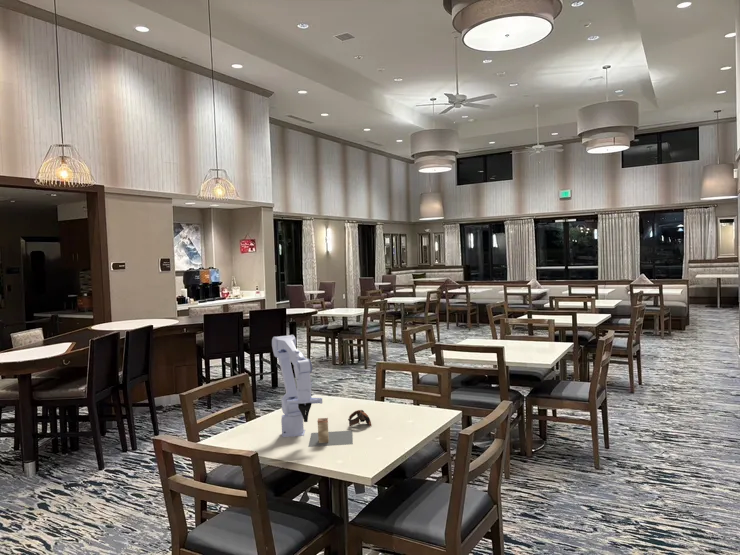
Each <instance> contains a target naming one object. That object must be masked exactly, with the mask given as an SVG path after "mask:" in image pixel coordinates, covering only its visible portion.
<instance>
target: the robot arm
mask: <svg viewBox="0 0 740 555" xmlns="http://www.w3.org/2000/svg"><path fill="white" fill-rule="evenodd" d="M296 346H297V339H296V337H295V335H294V334H290V335H280V336H273V337H272V339H271V347H272V352H273V356H274V357H275V358H276V359H277V358H278V363H279V366H280V371H281V375H282V376H281V377H282V381H283V385H284V389H285V394H284V395H283V396H282V397H281V400H280V402H281V410H282V413H283V414H281V422H280V423H281V437H282V438H286V437H287V438H288V437H290V438H291V437H302V436H303V437H304V436H305V432H306V429H305V428H304V423H308V422H309V420H308V419H309V414H310V410H311V408H312V406H313V405H314V404H319V405H320V404H323V402H324V401H323V397H312V383H311V382H312V381H311V374H312V371H313V363H312V360H311V359H310V358H306V357H305V356H304V354H303V352H302V351H301V350H299V349H297V347H296ZM291 363H292V364H291ZM292 365H293V368H292ZM293 370H294V373H293ZM295 379H296V381H295Z"/></svg>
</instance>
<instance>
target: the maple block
mask: <svg viewBox="0 0 740 555" xmlns="http://www.w3.org/2000/svg"><path fill="white" fill-rule="evenodd" d="M316 422H317V433H318V439H319V443H326V442H329V433H328V432H329V418H328V417H320V418H317V421H316Z"/></svg>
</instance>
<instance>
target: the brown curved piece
mask: <svg viewBox="0 0 740 555" xmlns="http://www.w3.org/2000/svg"><path fill="white" fill-rule="evenodd" d="M355 416H356V417H355ZM354 417H355V418H354ZM347 420H348V424H349V427H352V426H355V425H361V424H360V423H364V422H365V424H366V423H367V425H369V427H370V426H371V427H372V422H371V418H370V417H369V415H368V414H367V413H366V412H365V411H364V410H363V409H358V410H355V411H353V412H352V413H351V414H350V415H349V417H348V419H347Z"/></svg>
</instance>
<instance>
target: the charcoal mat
mask: <svg viewBox="0 0 740 555" xmlns="http://www.w3.org/2000/svg"><path fill="white" fill-rule="evenodd" d="M328 433H329V442H326V443H319V439H318V432H311V434H310V437H309V443H308V446H307V447H308V448H313V447H330V446H344V445H348V446H349V445H353V439H354V438H353V436H354V435H353V430H340V431H339V430H337V431H328Z"/></svg>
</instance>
